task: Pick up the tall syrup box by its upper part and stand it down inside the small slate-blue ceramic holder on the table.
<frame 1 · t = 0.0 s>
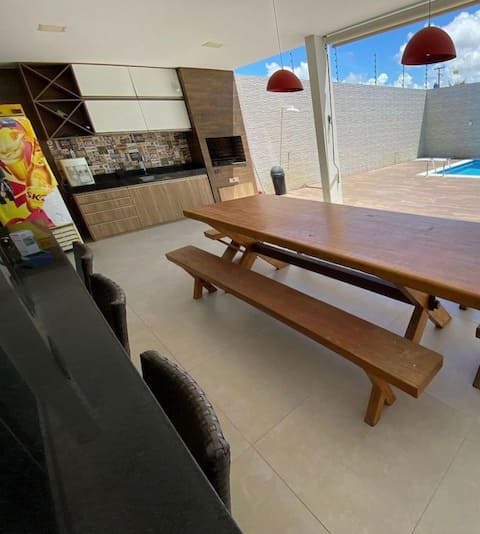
hand: (8, 202, 151), 27 cm above the countertop, tool pointing down, fingers open, 8 cm apart
syrup box: (35, 258, 156), on the countertop
holder: (41, 263, 149), on the countertop
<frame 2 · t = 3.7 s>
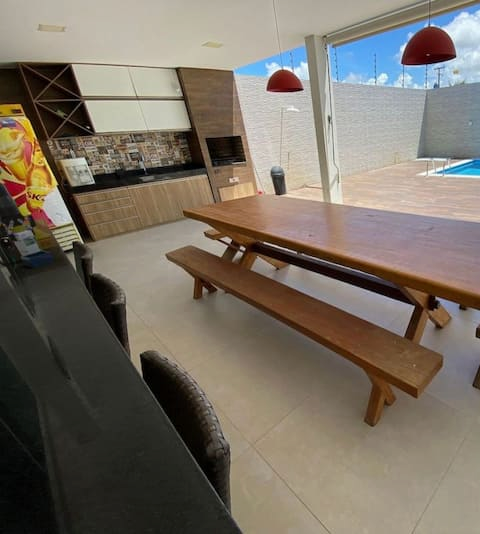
hand: (24, 238, 152), 11 cm above the countertop, tool pointing down, fingers closed on syrup box, 6 cm apart
syrup box: (35, 258, 156), on the countertop, touching gripper
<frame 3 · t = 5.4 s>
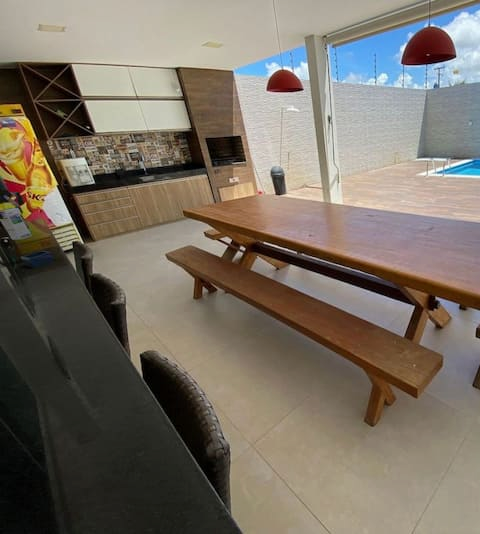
hand: (10, 216, 147), 22 cm above the countertop, tool pointing down, fingers closed on syrup box, 6 cm apart
syrup box: (23, 238, 151), point 11 cm above the countertop, touching gripper
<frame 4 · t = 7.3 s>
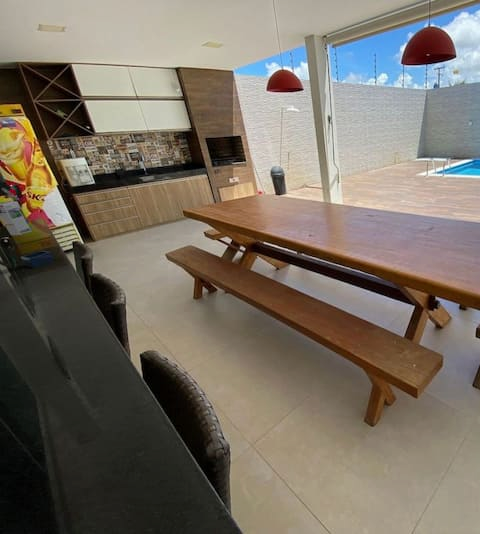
hand: (9, 210, 138), 26 cm above the countertop, tool pointing down, fingers closed on syrup box, 6 cm apart
syrup box: (22, 233, 143), point 15 cm above the countertop, touching gripper
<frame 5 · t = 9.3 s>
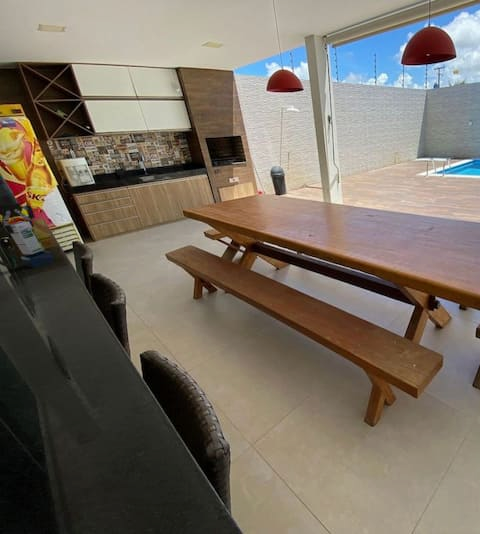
hand: (21, 230, 141), 17 cm above the countertop, tool pointing down, fingers closed on syrup box, 6 cm apart
syrup box: (34, 252, 146), point 6 cm above the countertop, touching gripper
when the fingers open (11 cm above the countertop, at t = 11.2 s): syrup box stays where it is, resting on holder.
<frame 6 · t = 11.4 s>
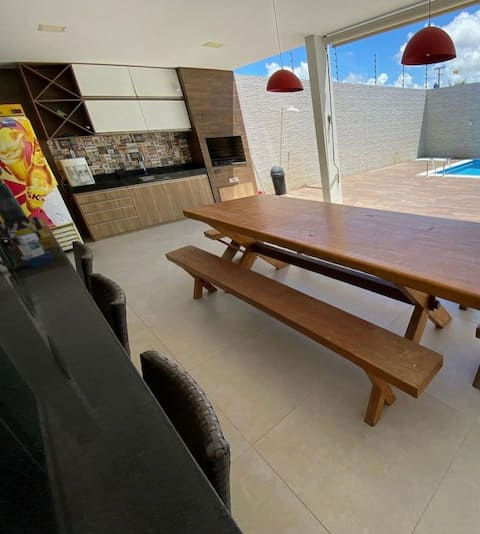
hand: (28, 242, 144), 11 cm above the countertop, tool pointing down, fingers open, 7 cm apart
syrup box: (40, 263, 149), resting on holder
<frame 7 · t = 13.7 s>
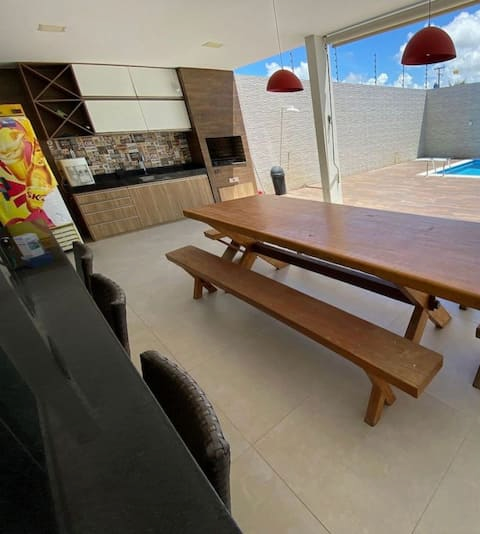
nothing on the countertop moved.
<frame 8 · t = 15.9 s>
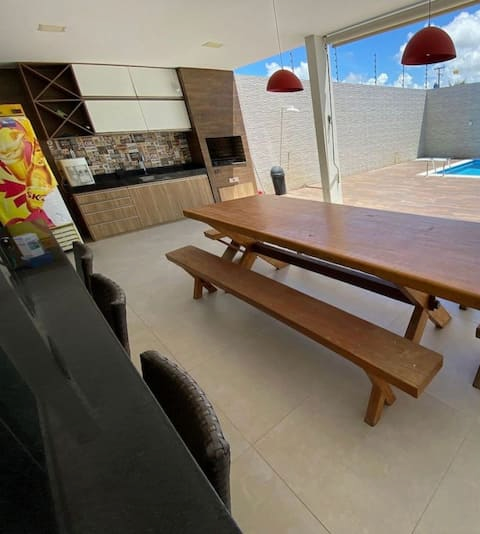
nothing on the countertop moved.
at the end: syrup box 0.0 cm off-centre in the holder, point 0.3 cm above the holder's base; syrup box tilted 0°; the gripper is holding nothing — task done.
